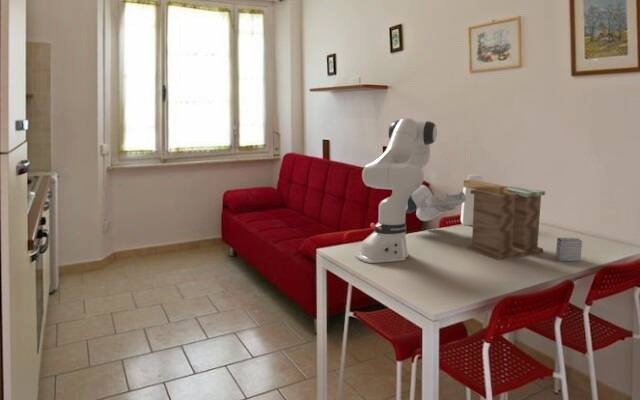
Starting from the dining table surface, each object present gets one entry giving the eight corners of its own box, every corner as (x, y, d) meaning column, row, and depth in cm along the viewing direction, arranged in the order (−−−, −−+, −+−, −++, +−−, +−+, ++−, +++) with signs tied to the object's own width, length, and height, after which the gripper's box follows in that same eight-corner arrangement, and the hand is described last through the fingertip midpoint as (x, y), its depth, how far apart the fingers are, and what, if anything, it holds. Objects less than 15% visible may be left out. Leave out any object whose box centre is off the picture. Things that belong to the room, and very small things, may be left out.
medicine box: (575, 258, 191) (577, 237, 190) (580, 261, 187) (582, 240, 186) (555, 258, 192) (556, 237, 191) (559, 261, 188) (561, 240, 186)
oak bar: (499, 194, 191) (499, 186, 191) (463, 186, 211) (463, 180, 211) (506, 193, 193) (507, 186, 192) (470, 186, 213) (470, 179, 212)
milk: (483, 220, 260) (485, 173, 255) (486, 225, 249) (488, 176, 244) (460, 220, 262) (462, 173, 257) (462, 225, 251) (464, 176, 246)
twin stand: (496, 259, 191) (499, 196, 186) (466, 248, 207) (469, 190, 203) (542, 252, 200) (546, 191, 196) (510, 241, 217) (514, 185, 212)
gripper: (419, 200, 230) (434, 189, 218) (453, 197, 237) (470, 186, 225) (422, 212, 228) (438, 202, 216) (457, 208, 236) (474, 198, 223)
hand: (454, 194), depth 221 cm, fingers open, 8 cm apart
